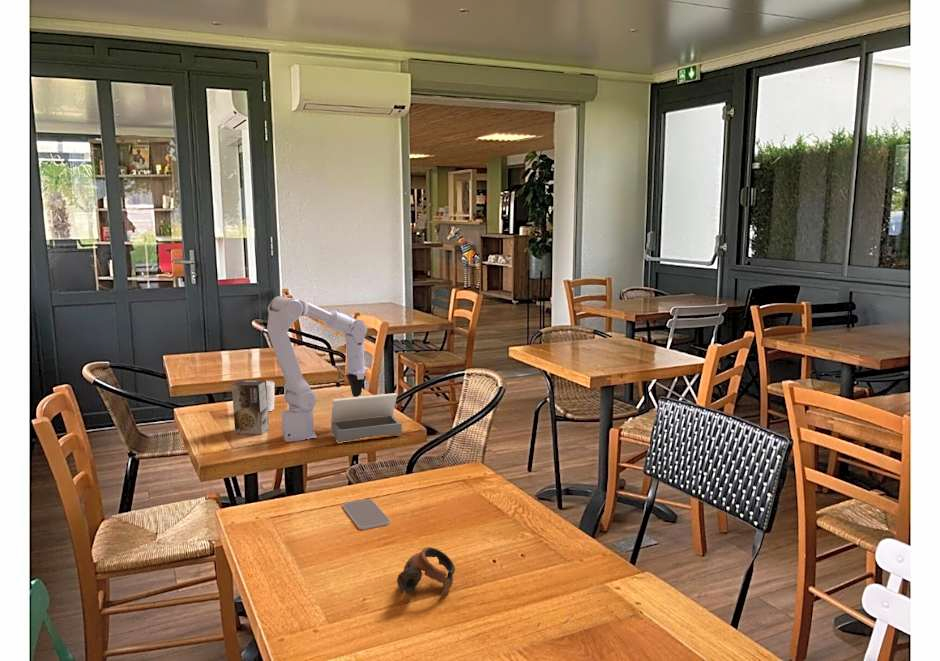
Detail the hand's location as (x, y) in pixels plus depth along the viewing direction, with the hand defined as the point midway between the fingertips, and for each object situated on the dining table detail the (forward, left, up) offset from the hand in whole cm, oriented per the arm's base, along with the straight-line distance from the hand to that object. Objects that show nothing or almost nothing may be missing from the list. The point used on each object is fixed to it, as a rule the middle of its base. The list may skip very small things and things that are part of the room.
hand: (356, 396), depth 232 cm
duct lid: (0, -11, -1) cm, 11 cm away
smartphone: (-14, -71, -10) cm, 73 cm away
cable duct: (0, -13, -9) cm, 16 cm away
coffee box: (-33, +5, -10) cm, 35 cm away
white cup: (-27, +28, -10) cm, 40 cm away
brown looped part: (-12, -108, -10) cm, 109 cm away
